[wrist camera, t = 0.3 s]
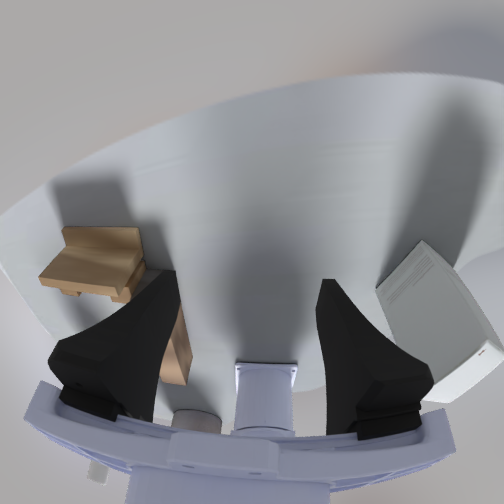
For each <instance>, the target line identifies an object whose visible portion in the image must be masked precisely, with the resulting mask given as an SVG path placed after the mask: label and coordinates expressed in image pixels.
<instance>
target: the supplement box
mask: <svg viewBox="0 0 504 504" xmlns="http://www.w3.org/2000/svg"><path fill="white" fill-rule="evenodd" d="M375 292H376V295H377V297H378V299H379V302H380V304H381V307H382V309H383V312H384V314H385V317H386V319H387V322H388V324H389V327H390V329H391V332H392V335H393V337H394V340H395V343H396V345H397V346H398V347H399V348H401V349H402V350H404V351H405V352H407V353H408V354H410V355H412V356H413V357H415V358H417V359H419V360H421V361H422V362H424V363H426V364H428V366H429V368H430V370H431V373H432V376H433V379H434V386H433V388H432V389H431V390H430V392H429V393H428V394H427V395H426V396H425V397H424V398H423V399H422V400H428V401H436V402H444V403H450V402H451V401H453V400H454V399H456V398H457V397H459V396H460V395H462V394H463V393H464V392H466V391H467V390H469V389H470V388H471V387H473V386H474V385H475V384H476V383H478V382H479V381H480V380H481V379H483V378H484V377H485V376H486V375H487V374H489V373H490V372H491V371H492V370H493V369H494V368H495V367H497V366H498V365H499V364H500V363H501V362H502V361H503V360H504V347H503V345H502V343H501V342H500V339H499V338H498V336H497V334H496V332H495V331H494V329H493V327H492V326H491V324H490V322H489V320H488V319H487V317H486V316H485V314H484V312H483V311H482V309H481V308H480V306H479V305H478V303H477V302H476V300H475V299H474V297H473V296H472V294H471V293H470V291H469V290H468V288H467V287H466V286H465V284H464V283H463V281H462V280H461V278H460V277H459V276H458V274H457V273H456V271H455V270H454V269H453V268H452V267H451V266H450V265H449V264H448V263H447V262H446V261H445V260H444V259H443V258H442V257H441V256H440V255H439V254H438V253H437V252H436V251H434V250H433V249H432V248H431V247H430V246H429V245H428V244H427V243H425V242H424V241H423V240H421V241H420V242H419V243H418V244H417V246H416V247H415V248H414V249H413V250H412V251H411V252H410V253H409V255H408V256H407V257H406V258H405V259H404V260H403V261H402V262H401V263H400V264H399V265H398V266H397V268H396V269H395V270H394V271H393V272H392V273H391V274H390V275H389V276H388V277H387V278H386V279H385V280H384V281H383V282H382V283H381V284H380V285H379V287H378V288H377V289H376V291H375Z"/></svg>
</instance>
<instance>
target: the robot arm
mask: <svg viewBox="0 0 504 504" xmlns="http://www.w3.org/2000/svg"><path fill="white" fill-rule="evenodd" d="M180 303H181V300H180V294H179V289H178V283H177V277H176V271H169V270H164V271H163V272H161V273H160V274H159V275H158V276H157V277H156V278H155V279H154V280H153V281H152V282H151V283H150V284H149V285H148V286H146V287H145V288H144V289H143V290H142V291H141V292H140V293H139V294H138V295H137V296H135V297H134V298H133V299H132V300H131V301H129V302H128V303H127V304H126V305H125V306H123V307H122V308H121V309H119V310H118V311H116V312H115V313H114V314H112V315H111V316H109V317H108V318H106V319H104V320H103V321H101V322H99V323H98V324H96V325H94V326H92V327H90V328H88V329H86V330H84V331H82V332H80V333H78V334H75V335H73V336H70V337H67V338H65V339H62V340H59V341H58V343H57V345H56V346H55V348H54V350H53V352H52V354H51V355H50V357H49V359H48V365H49V367H50V369H51V370H52V372H53V373H54V374H55V375H56V377H57V378H58V379H59V380H60V381H61V383H62V384H63V385H64V387H63V389H62V390H61V389H59V388H58V387H56V386H54V385H51V384H49V383H47V382H44V381H40V383H39V385H38V387H37V389H36V392H35V394H34V396H33V398H32V400H31V402H30V404H29V407H28V409H27V411H26V413H25V416H24V420H25V421H26V422H27V423H28V424H30V425H31V426H32V427H34V428H35V429H36V430H38V431H39V432H40V433H42V434H43V435H44V436H46V437H47V438H49V439H50V440H52V441H54V442H55V443H57V444H59V445H61V446H64V447H65V448H67V449H69V450H71V451H73V452H76V453H78V454H80V455H82V456H84V457H86V458H89V459H91V460H93V461H95V462H98V463H100V464H103V465H105V466H108V467H110V468H113V469H116V470H118V471H121V472H124V473H127V474H130V475H131V476H130V481H129V485H128V490H127V494H126V500H125V504H330V493H332V492H338V491H344V490H349V489H354V488H359V487H364V486H368V485H372V484H376V483H380V482H384V481H388V480H391V479H395V478H398V477H401V476H404V475H408V474H411V473H414V472H417V471H420V470H423V469H426V468H428V467H430V466H432V465H434V464H436V463H438V462H440V461H441V460H443V459H445V458H447V457H448V456H450V455H452V454H453V453H455V452H456V448H455V444H454V440H453V436H452V432H451V429H450V425H449V421H448V418H447V415H446V412H445V409H444V408H442V409H439V410H435V411H432V412H428V413H425V414H423V415H421V416H420V414H419V410H421V404H420V401H421V400H422V399H423V398H424V397H425V396H426V395H427V394H428V393H429V392H430V390H431V389H432V388H433V386H434V379H433V376H432V373H431V370H430V368H429V366H428V364H426V363H424V362H422V361H421V360H419V359H417V358H415V357H413V356H412V355H410V354H408V353H407V352H405V351H404V350H402V349H401V348H399V347H398V346H397V345H395V344H394V343H393V342H391V341H390V340H389V339H388V338H386V337H385V336H384V335H383V334H382V333H381V332H380V331H378V330H377V329H376V328H375V327H374V326H373V325H372V324H371V323H370V322H369V321H368V320H367V319H366V318H365V316H364V315H363V314H362V313H361V312H360V311H359V310H358V308H357V307H356V306H355V305H354V304H353V302H352V301H351V300H350V298H349V297H348V296H347V295H346V293H345V292H344V291H343V289H342V288H341V287H340V285H339V284H338V283H337V281H336V280H335V279H323V280H322V284H321V289H320V293H319V297H318V301H317V305H316V322H317V330H318V335H319V340H320V345H321V350H322V355H323V360H324V366H325V376H326V392H327V393H326V395H327V425H326V436H310V437H295V431H293V410H292V387H293V384H294V380H295V377H296V373H297V370H298V366H297V365H295V364H256V363H236V364H235V376H236V394H237V402H236V412H235V423H234V430H232V431H231V434H230V435H225V434H215V433H207V432H199V431H192V430H186V429H180V428H174V427H169V426H164V425H159V424H154V423H153V412H154V404H155V396H156V390H157V384H158V379H159V374H160V369H161V364H162V360H163V357H164V353H165V350H166V348H167V345H168V342H169V339H170V337H171V334H172V331H173V328H174V326H175V323H176V320H177V316H178V312H179V308H180Z"/></svg>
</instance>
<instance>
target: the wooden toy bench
mask: <svg viewBox="0 0 504 504" xmlns="http://www.w3.org/2000/svg"><path fill="white" fill-rule="evenodd" d="M62 234H63V237H64V240H65V243H66V247H65V248H64V249H63V250H62V251H61V252H60V253H59V254H58V255H57V256H56V257H55V258H54V259H53V261H52V262H51V263H50V264H49V265H48V266H47V267H46V268H45V270H44V271H43V272H42V273H41V274H40V275H39V277H38V278H39V280H40V282H41V284H42V285H43V286H48V287H54V288H60V290H61V292H62V294H67V295H72V296H78V297H79V296H80V294H81V293H82V292H85V293H92V294H99V295H106V296H110V297H111V300H112V302H118V303H126V304H127V303H128V302H129V301H130V298H131V296H132V294H133V293H134V291H135V289H136V287H137V285H138V283H139V281H140V280H141V278H142V276H143V274H144V272H145V271H146V266H145V261H140V260H141V259H142V257H143V255H144V253H143V248H142V244H141V239H140V234H139V229H138V228H133V227H64V228H63V229H62Z"/></svg>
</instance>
